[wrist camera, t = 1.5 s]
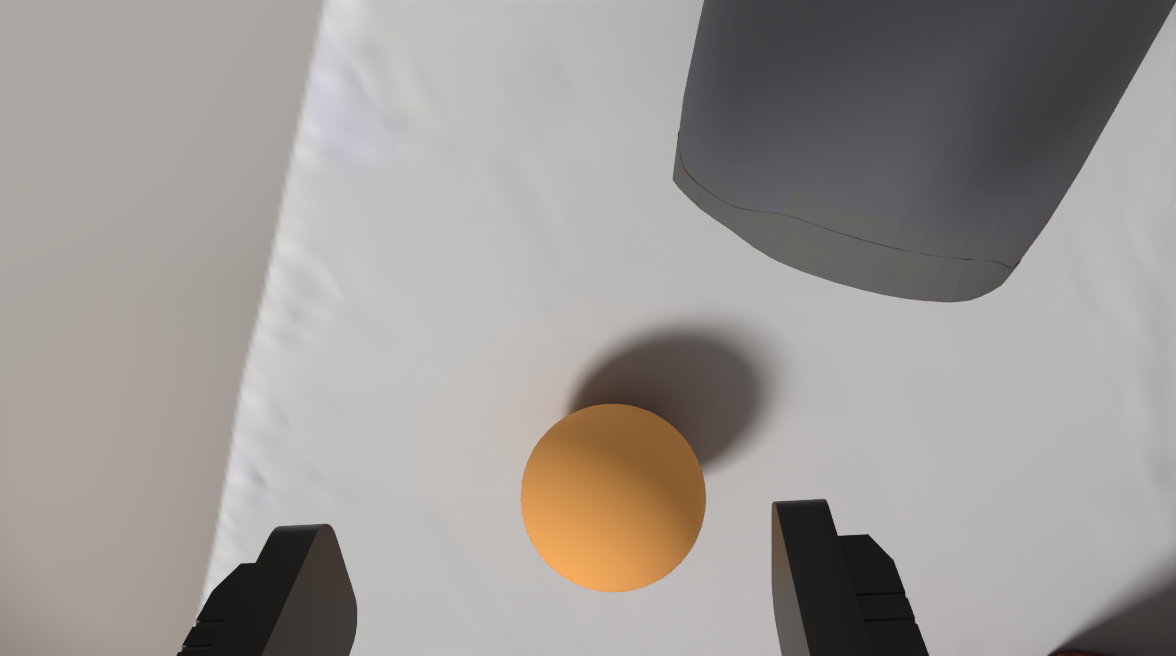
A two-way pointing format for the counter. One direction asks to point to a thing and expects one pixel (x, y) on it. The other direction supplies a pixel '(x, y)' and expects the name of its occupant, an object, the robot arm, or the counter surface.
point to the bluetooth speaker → (901, 129)
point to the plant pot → (1076, 654)
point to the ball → (613, 497)
